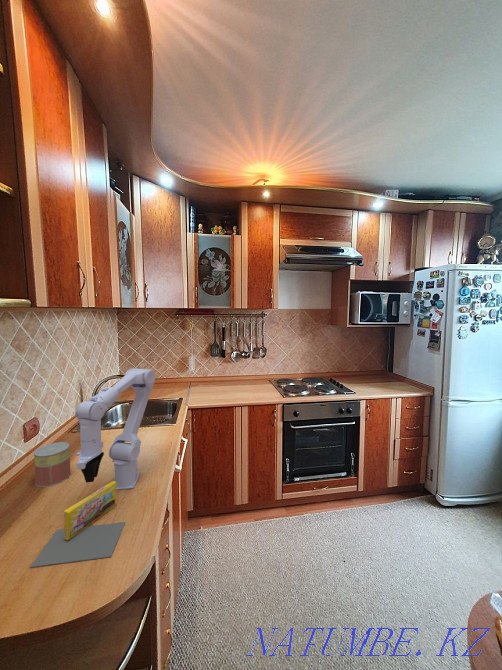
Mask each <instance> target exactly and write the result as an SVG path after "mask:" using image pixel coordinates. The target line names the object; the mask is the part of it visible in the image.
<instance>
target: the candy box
mask: <svg viewBox="0 0 502 670" xmlns="http://www.w3.org/2000/svg"><path fill="white" fill-rule="evenodd" d="M116 506H117V490H116V482H115V480H111V481H110V482H109V483H106V484H105V485H104V486H102V487H101V488H99V489H97V490H96V491H94V492H92V493H91V494H89V495H87V496H86V497H84V498H83V499H81V500H80V501H78V502H76V503H75V504H72V505H71V506H70V507H68V508H67V509H64V510H63V512H64V513H63V514H64V515H63V519H64V521H63V523H64V524H63V529H64V539H65V540H69V539H71V538H72V537H73V536H75V535H76V534H78V533H79V532H80V531H82V530H83V529H84V528H86V527H87V526H91V525H92V524H93V523H95V521H97V520H98V519H100V518H101V517H103V516H104V515H105V514H107V513H108V512H110V510H112V509H114V508H115V507H116Z"/></svg>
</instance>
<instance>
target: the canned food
mask: <svg viewBox="0 0 502 670" xmlns="http://www.w3.org/2000/svg"><path fill="white" fill-rule="evenodd" d="M70 445H71V444H70V443H68V442H67V441H66V442H65V441H59V442H53V443H52V442H51V443H48V444H46V445H42V446H40V447H39V448H37V449H35V451H33V461H34V463H33V464H34V478H35V479H34V482H35V483H34V485H35V486H36V487H38V488H47V487H53V486H56V485H59V484H61V483H63V482H65V481H66V480H68V479H67V478H68V477H69V476H70V477H71V474H72V473H71V472H72V471H71V453H70V451H71V450H70ZM70 477H69V478H70Z"/></svg>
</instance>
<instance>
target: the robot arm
mask: <svg viewBox="0 0 502 670" xmlns="http://www.w3.org/2000/svg"><path fill="white" fill-rule="evenodd" d="M155 381H156V375H155V372H154V369H153V368H133V367H131V368H130V369H128V370H127V371H125V374H124V376H123V377H121V378H120V379H119V380H118V381H117V382H116V383H115V384H114V385H112V387H111V386H107V387H106V386H105V387H103V388H102V389H101V391H99V392H98V393H97V394H95V395H93V396H91V398H90V399H89V400H83V401H82V402H80V403H79V404H78V406H77V407H76V410H75V411H74V414H75V415H74V416H75V418H77V419H78V424H79V430H80V431H79V432H80V433H79V434H80V437H79V438H80V439H79V440H80V450H79V451H78V452H77V453H76V456H77V457H79V458H78V461H77V463H76V469H77V470H80V471H81V472H82V475H83V477H84V481H85V483H93V482H94V481H95V478H97V477H98V475H99V474H98V473H99V470H100V465H101V463H102V459H103V458H104V455H105V452H104V451H103V448H104V442H103V441H102V420H101V419H102V418H103V417H104V415H105V413H106V411H107V410H108V408H109V407H111V405H113V404H114V403H115V402H117V400H118V398H119V394H121V393H122V392H124V391H125V390H127V389H128V388H129V387H131V389H132V390H133V391H134V392H135V395H134V398H133V401H132V403H131V407H130V410H129V413H128V416H127V419H126V421H125V424H124V428H123V430H122V432H121V433H120V434H119V435H117V436H116V437H114V440H113V443H111V445H110V447H109V449H108V457H109V458H110V460H112V461H111V462H112V463H113V466H114V467H113V468H114V469H113V470H114V481H115V482H116V491H117V490H126V489H127V490H128V489H129V490H130V489H134V488H135V486H136V484H137V482H138V479H139V477H140V475H141V473H140V472H138V458H139V455H140V452H141V444H142V440H141V439H140V438H139V437H138V432H139V429H140V426H141V423H142V420H143V417H144V413H145V410H146V407H147V404H148V401H149V398H150V395H151V393H152V390H153V387H154V384H155Z"/></svg>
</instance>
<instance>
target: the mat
mask: <svg viewBox="0 0 502 670" xmlns="http://www.w3.org/2000/svg"><path fill="white" fill-rule="evenodd" d="M125 523H126V521H120V522H113V523H104V524H95V525H89V526H87V527H86V528H84V529H83V530H82V531H80V532H79V533H78V534H76V535H75V536H73V537H72V538H71V539H69V540H65V539H64V528H61V529H56V530H55V531H54V533H53V534H52V536H51V537H50V539H49V540H48V541H47V543H46V544H45V545H44V547H43V548H42V550H41V551H40V552H39V554H37V556H36V558H35V560H33V562H32V564H31V565H29V569H34V568H40V567H41V568H42V567H49V566H50V567H51V566H55V565H63V564H71V563H79V562H87V561H95V560H100V559H108V558H112V556H113V553H114V551H115V548H116V546H117V544H118V543H119V539H120V536H121V534H122V531H123V529H124V526H125Z"/></svg>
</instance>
